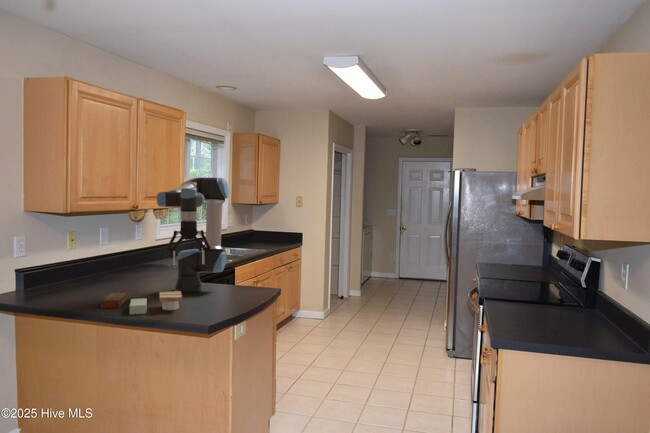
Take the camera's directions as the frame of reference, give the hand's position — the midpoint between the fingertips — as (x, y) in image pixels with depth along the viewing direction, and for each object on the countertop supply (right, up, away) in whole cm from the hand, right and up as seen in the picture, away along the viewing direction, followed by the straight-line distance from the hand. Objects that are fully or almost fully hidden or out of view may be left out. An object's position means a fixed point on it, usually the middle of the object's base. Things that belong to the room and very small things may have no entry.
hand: (188, 264), depth 238 cm
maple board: (-9, -16, 0) cm, 19 cm away
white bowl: (-9, -21, +1) cm, 23 cm away
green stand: (-23, -21, -4) cm, 31 cm away
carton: (-39, -21, +8) cm, 45 cm away
